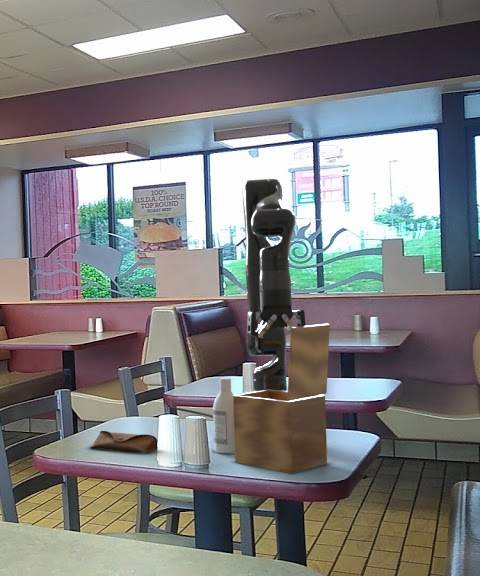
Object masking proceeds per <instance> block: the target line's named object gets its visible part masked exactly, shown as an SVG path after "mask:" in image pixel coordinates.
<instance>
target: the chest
mask: <svg viewBox="0 0 480 576" xmlns="http://www.w3.org/2000/svg"><path fill="white" fill-rule="evenodd" d="M233 404H234V434H235V453H234V459H235V463H236V464H237V463H238V464H242V465H248V466H251V467H257V468H260V469H261V468H262V469H265V470H266V469H267V470H272V471H277V472H281V473H286V474H294V473H295V474H296V473H299V472H302V471H306V470H310V469H313V468H319V467H322V466H325V465H327V464H328V447H327V444H328V443H327V415H326V414H327V413H326V394H322V395H316V396H311V397H305V398H300V399H294V400H288V390H287V391H280V390H270V389H268V390H262V391H256V392H253V391H251V392H246V393H245V392H244V393H239V394H233Z"/></svg>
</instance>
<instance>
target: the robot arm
mask: <svg viewBox="0 0 480 576" xmlns="http://www.w3.org/2000/svg"><path fill="white" fill-rule="evenodd" d="M284 203H285V191H284V186H283V183H282V182H281V180H279V179H277V178H262V179H247V180H246V181H244V183H243V186H242V205H243V217H244V218H243V219H244V220H243V221H244V232H245V283H246V284H245V285H246V333H245V334H246V335H245V336H246V337H245V338H246V339H245V341H246V350H247V352H248V355H249V356H250V357H272V359H271V361H269V362H268V363H266V364H264V365H263V366H259V367H256V368H254V369H253V371H252V388H253V391H252V392H256V391H262V390H268V389H270V390H280V391H288V385H287V332H288V333H289V334H290V331H291V328H292V327H302V326H307V324H306V315H305V314H306V313H305V310H303V309H296V310H293V308H292V279H291V272H290V247H291V241H292V237H293V234H294V230H295V226H296V215H295V213H294V212H293V211H292V210H291V209H290V208H284ZM278 237H279V238H280V240H279V242H277V243H276V244H272V243H271V242H270V240H269V239H268V238H278ZM293 317H294V319H295V320H296V326H295V325H294V324H293V322H292V321H291V320H292V318H293ZM260 320H261V322H260ZM259 322H260V324H259ZM286 330H287V332H286ZM167 407H168V408H170V409H171V410H175V411H181V412H185V413H186V412H187V413H191V414H195V415H200V416H204V417H208V418H212V419H213V414H209V413H205V412H200V411H197V410H191V409H186V408H181V407H176V406H173V405H172V403H171V402H169V403H168V404H167V405H166V408H167Z"/></svg>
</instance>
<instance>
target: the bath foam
mask: <svg viewBox="0 0 480 576" xmlns="http://www.w3.org/2000/svg"><path fill="white" fill-rule="evenodd" d="M233 395H234V393H233V391H232V379H231V378H230V377H220V378H219V393H218V394H217V396H216V397H215V399H214V401H213V404H212V405H213V406H212V415H213V418H212V419H213V421H212V422H213V449H214V451H215V452H216V453H219V454H224V455H225V454H226V455H227V454H229V455H231V454H235V434H234V404H233Z"/></svg>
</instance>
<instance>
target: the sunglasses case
mask: <svg viewBox="0 0 480 576" xmlns="http://www.w3.org/2000/svg"><path fill="white" fill-rule="evenodd" d="M157 442H158V439H157V437H155V436H154V435H152V434H136V433H125V432H113V431H109V430H108V431H107V430H100V431H99V434H98V436H97V437H96V438H95V440H94V442H93V443H92V445H91V446H89V449H100V450H108V451H116V452H125V453H152V452H155V451H157V450H158V447H157Z"/></svg>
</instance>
